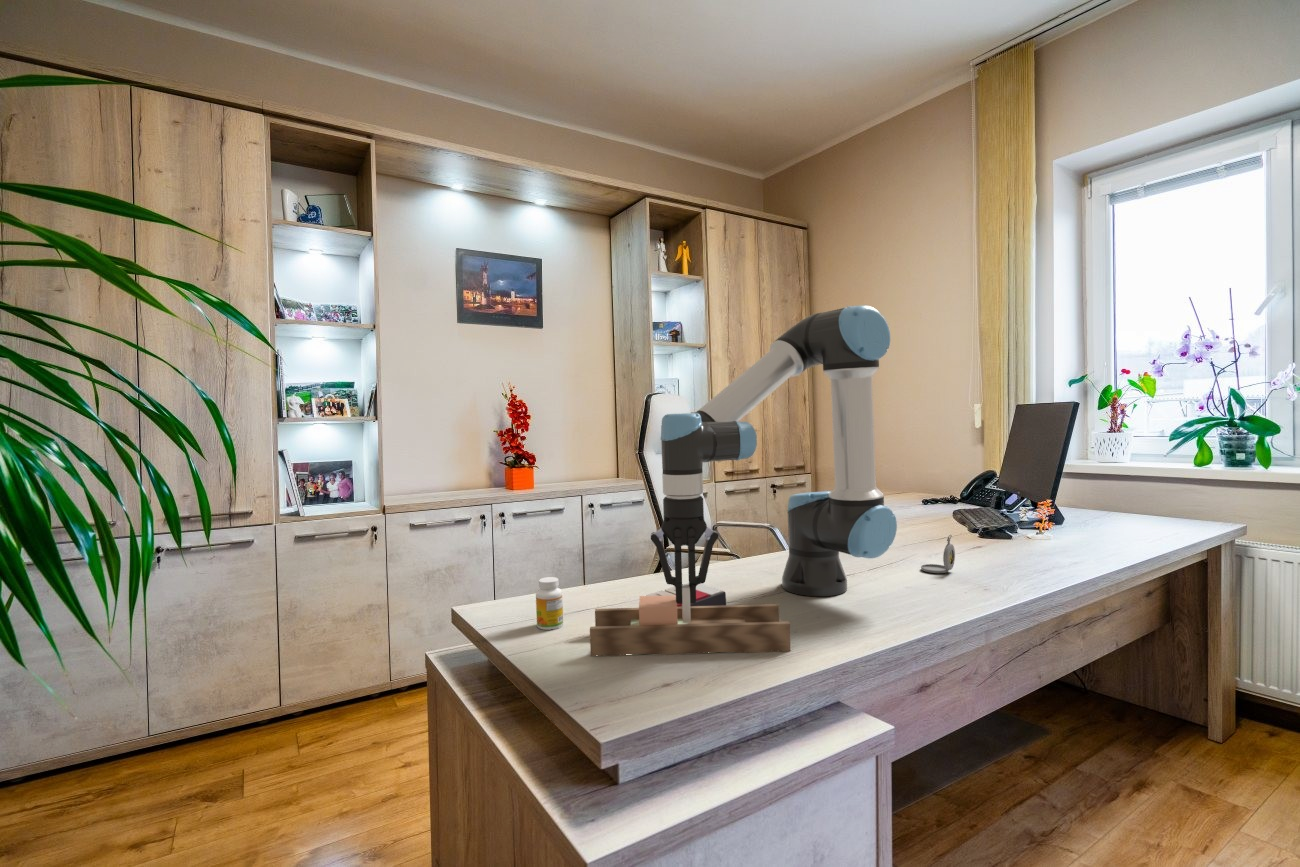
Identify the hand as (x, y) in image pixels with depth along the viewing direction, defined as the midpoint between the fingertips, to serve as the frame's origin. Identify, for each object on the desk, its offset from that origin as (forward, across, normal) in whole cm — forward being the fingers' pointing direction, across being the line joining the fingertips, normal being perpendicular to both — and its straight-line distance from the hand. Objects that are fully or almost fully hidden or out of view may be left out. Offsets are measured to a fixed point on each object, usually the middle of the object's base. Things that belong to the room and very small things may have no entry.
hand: (686, 619), depth 121 cm
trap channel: (+4, 0, 0) cm, 4 cm away
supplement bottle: (+4, +28, -11) cm, 30 cm away
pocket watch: (+5, -67, -44) cm, 81 cm away
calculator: (+5, -1, -20) cm, 21 cm away
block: (+1, +5, 0) cm, 5 cm away
